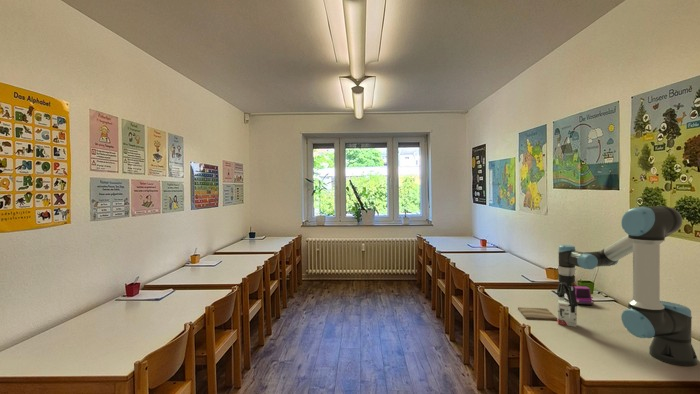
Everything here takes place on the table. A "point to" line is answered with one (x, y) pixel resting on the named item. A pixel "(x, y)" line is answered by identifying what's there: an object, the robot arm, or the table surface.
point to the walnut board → (537, 313)
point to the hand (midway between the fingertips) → (566, 313)
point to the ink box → (566, 314)
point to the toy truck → (583, 295)
